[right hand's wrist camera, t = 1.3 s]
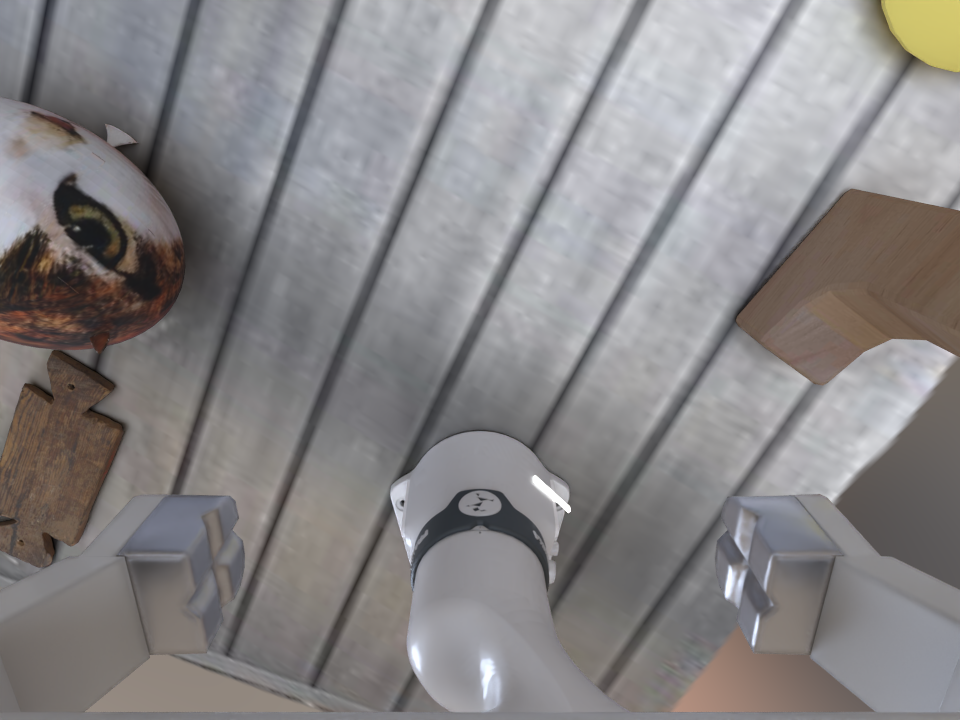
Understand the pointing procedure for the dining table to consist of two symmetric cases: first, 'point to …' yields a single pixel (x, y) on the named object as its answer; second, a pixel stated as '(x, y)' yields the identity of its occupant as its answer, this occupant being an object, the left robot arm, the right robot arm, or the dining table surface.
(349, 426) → the dining table surface
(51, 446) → the dark wooden board
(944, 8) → the yellow domed disc
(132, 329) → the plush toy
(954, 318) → the decorative block
